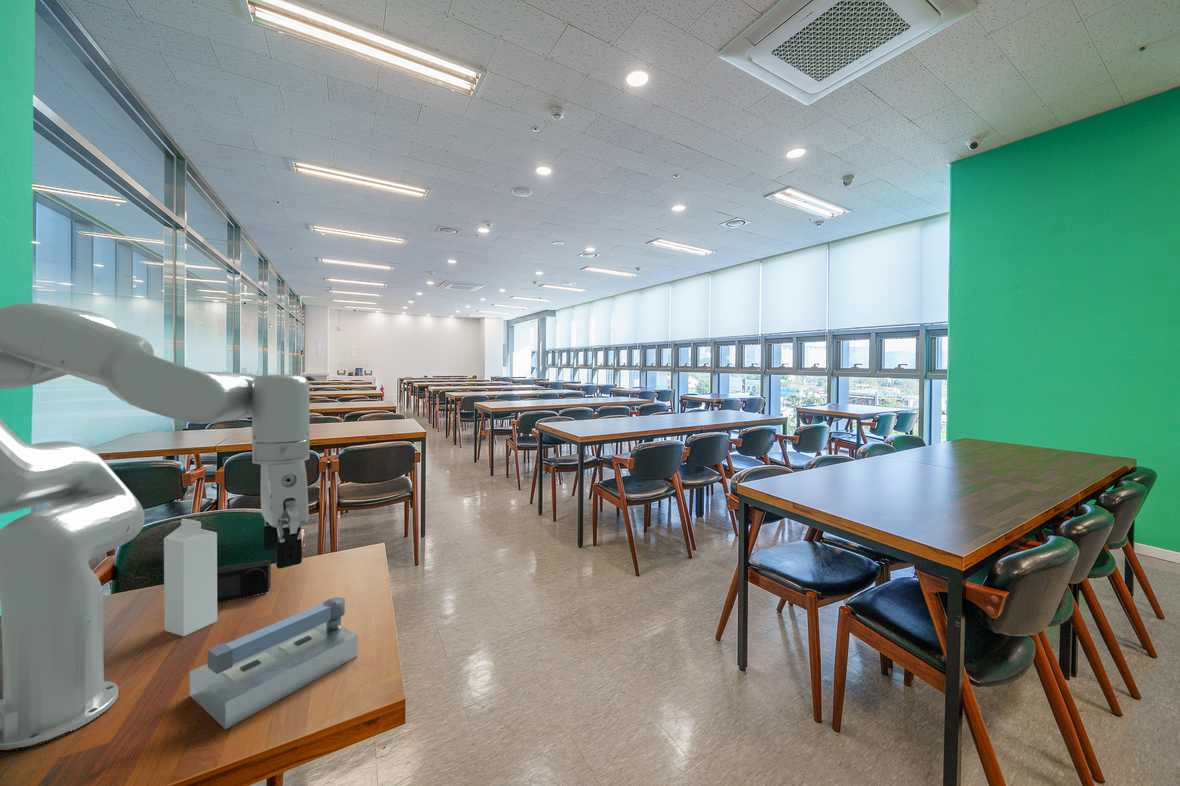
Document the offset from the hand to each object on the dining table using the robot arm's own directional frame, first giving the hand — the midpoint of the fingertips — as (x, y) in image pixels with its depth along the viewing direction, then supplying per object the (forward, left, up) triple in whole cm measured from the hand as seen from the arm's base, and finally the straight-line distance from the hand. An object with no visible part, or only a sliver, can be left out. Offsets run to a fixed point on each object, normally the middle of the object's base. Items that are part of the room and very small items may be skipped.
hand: (282, 556), depth 71 cm
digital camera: (+11, +43, -23) cm, 50 cm away
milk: (0, +37, -23) cm, 43 cm away
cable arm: (+3, +5, -16) cm, 17 cm away
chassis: (+2, +5, -23) cm, 23 cm away
